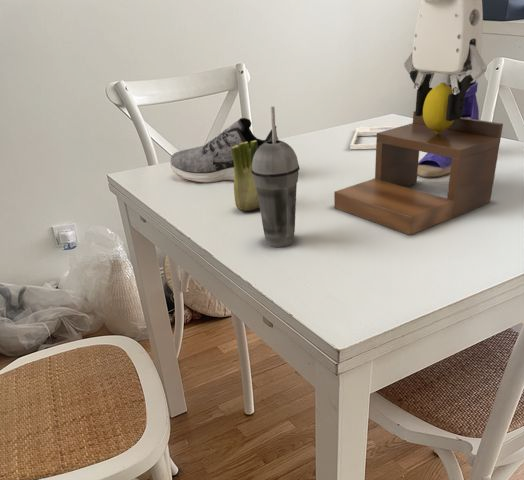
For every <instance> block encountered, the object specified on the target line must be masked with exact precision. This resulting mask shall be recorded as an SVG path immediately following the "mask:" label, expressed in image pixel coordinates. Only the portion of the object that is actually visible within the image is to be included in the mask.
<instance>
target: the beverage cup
mask: <svg viewBox="0 0 524 480" xmlns="http://www.w3.org/2000/svg"><path fill="white" fill-rule="evenodd" d="M270 112H271V113H270V117H271V118H270V119H271V129H272V140H271V141H267V142H265V143H264V144H262V145H261V146H260V147H259V148H258V149H257V151H256V152H255V154H254V157H253V162H252V170H251V173H252V174H253V179H254V182H255V186H256V188H257V194H258V200H259V206H260V207H259V211H260V217H261V218H260V219H261V224H262V227H263V228H262V229H263V235H264V238H265V244H266V245H267V246H269V247H272V248H284V247H287V246H290V245H291V244H293V243H294V242H295V238H294V237H295V233H296V210H297V209H296V207H297V187H298V186H297V185H298V182H299V175H300V174H299V173H300V172H299V171H300V169H301V168H300V165H299V161H298V157H297V154H296V152H295V150H294V149H293V147H292V146H291V145H289V144H288V143H287V142H285V141H284V140H279V139H278V140H276V132H277V129H276V130H275V126H276V114H275V112H276V111H275V106H270Z"/></svg>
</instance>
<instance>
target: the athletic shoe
mask: <svg viewBox="0 0 524 480" xmlns="http://www.w3.org/2000/svg"><path fill="white" fill-rule="evenodd" d="M251 126H252V122H251V119H250V118H247V117H240V118H239V119H238V120H236V121H235V122H233V124H231V125H230V126H228V128H226V129H224V130H223V131H222V132H220V133H219V134H218V135H217V136H215V137H214V138H213V139H211V140H209V141H208V142H206V143H205V144H204V145H201V146H196V147H192V148H191V147H190V148H187V149H182V150H179V151H175V152H174V153H173V154H172V155H171V156H170V168H171V170H172V172H173V173H174V174H175V175H177V176H178V177H181V178H182V179H184V180H188V181H192V182H196V183H205V184H207V183H208V184H209V183H217V182H223V181H224V182H225V181H232V182H234V175H235V172H234V162H233V156H232V150H231V148H232V147H233V146H236V145H238V146H239V144H240V143H244V142H248V144H249V150H250V142H251V141H255V140H256V141H257V149H258V148H259V147H260V146H261V145H262V144H264V143H265V142H267V141H271V140H272V128H271V129H270V131H269V133H268V134H267V136H266V138H265V139H261V138H258V137H256V135H254V133H253V132H252V130H251V129H250V128H251ZM275 130H276V140H279V137H278V133H277V125H275Z"/></svg>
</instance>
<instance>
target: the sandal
mask: <svg viewBox="0 0 524 480" xmlns="http://www.w3.org/2000/svg"><path fill="white" fill-rule="evenodd" d="M446 85H448V86H450V87H451V82H449V83H446ZM478 85H479V82H478V81H476V82H475V83H474V84H473V85H472V86H471V87H470V89H469V91H467V92H465V99H464V107H463V112H462V117H461V118H468V119H475V120H480V118H479V116H480V110H479V104H478V99H477V92H478ZM451 88H452V87H451ZM451 162H452V158H449V157H445V156H440V155H436V154H431V153H426V154H425V155H424V156H423V157H422V158H421V159H419V160H418V172H417V176H419V177H423V178H427V179H428V178H429V179H431V178H439V177H444V176H446V175H447V176H448V175H450V170H451Z"/></svg>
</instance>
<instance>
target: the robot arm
mask: <svg viewBox="0 0 524 480" xmlns="http://www.w3.org/2000/svg"><path fill="white" fill-rule="evenodd" d="M483 11H484V10H483V0H420V5H419V8H418V14H417V17H416V21H415V27H414V28H415V29H414V36H413V46H412V52H411V53H410V54H409V56H408V58H407V59H406V60H405V61H404V63H403V66H404V68H405V70H406V71H407V73H408V74H409V77H410V80H411V81H412V83H413V89H414V90H415V91H416V99H415V110H414V111H415V115H416V116H422V115H423V106H424V102H425V99H426V97H427V95H428V93H429V92H430V91H431V90H432V89H433V87H430V86H431V84H432V81H433V78H434V76H435V74H446V75H449V81H450V83H451V87H452V94H449V96H448V104H447V113H446V120H447V121H453V120H456V119H460V118H461V117H462V112H463V107H464V99H465V92H467V91H469V89H470V87H471V86H472V85H473V84H474V83H475V82H477V80H478V79H480V78H481V76H483V75H484V74H485V73H486V72H487V69H488V68H487V65H486V63H485V61H484V60H483V58H482V56H481V53H482V43H483V26H484V25H483V24H484V13H483ZM468 71H470V72H468Z"/></svg>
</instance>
